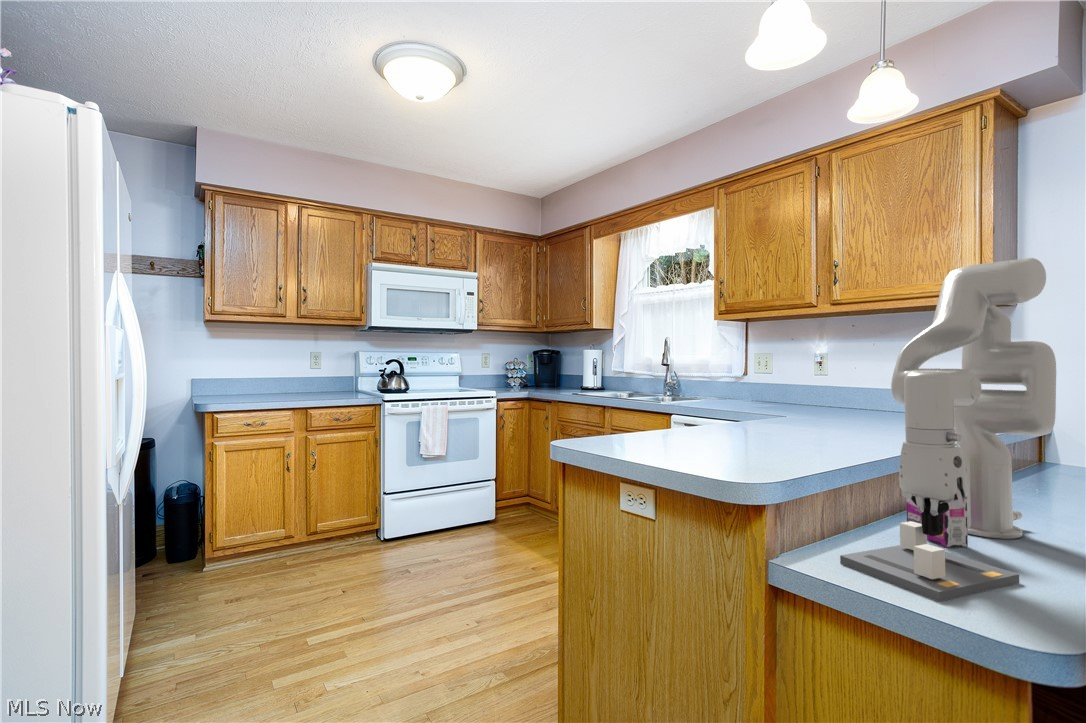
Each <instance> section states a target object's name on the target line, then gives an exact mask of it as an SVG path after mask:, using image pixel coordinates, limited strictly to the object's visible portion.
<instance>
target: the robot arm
mask: <svg viewBox="0 0 1086 723" xmlns="http://www.w3.org/2000/svg"><path fill="white" fill-rule="evenodd" d="M1046 271H1047V270H1046V269H1045V266H1044V264H1043V263H1042V262H1041V261H1040V260H1038V259H1037V258H1034V257H1027V258H1025V257H1024V258H1018V259H1010V260H1002V261H994V262H985V263H979V264H971V265H966V266H962V267H957V268H955V269H953V270H951V271H950V272H949V273H948V274H947V275H946V276H945V278H944V279H943V281H942V284H941V288H940V290H939V291H940V292H939V296H938V300H937V302H936V303H937V304H936V307H935V312H934V315H933V319H932V323H931V325H930V326H929V327H927V328H926V329H924V330H922V331H921V332H920V333H919V334H917V335H916V336H915V337H913V338H912V339H911V340H910V341H909V342H908V343H907V344H906V345H905V346H904V347H903V348H902V349H901V351H900V352H899V354H898V355H897V356H898V357H897V359H896V363H895V366H894V369H893V373H892V377H891V383H890V384H891V385H890V388H891V394H892V396H893V398H894V400H895V401H896V402H898V403H900V404H902V405H904V424H905V428H904V429H905V441H904V442H902V446H901V450H900V454H899V455H900V458H899V466H898V467H899V469H898V471H899V472H898V475H899V476H898V482H899V487H900V489H901V495H902V497H903V498H905V499H907V498H908V499H910V500H912V501H913V502H914V503H915V505H916V506H917V509H918V511H919V512H921V522H922V527H923V534H926V535H929V536H936V535H941V534H942V533H943V529H944V527H943V514H945V513H946V512H947V511H948V510H950V509H961V508H964V502H963V499H965V498H967V535H973V536H977V537H978V536H979V537H985V538H992V539H1001V540H1003V539H1004V540H1005V539H1007V540H1008V539H1009V540H1010V539H1013V540H1014V539H1019V538H1021V537H1023V529H1021V528H1019V527H1018V526H1015V525H1014V521H1017V520H1021V519H1022V518H1023V515H1022V512H1020V511H1019V510H1014V511H1013V506H1014V505H1013V468H1012V465H1013V461H1012V460H1013V459H1012V454H1011V451H1010V449H1009V447H1008V446H1007V445H1006V444H1005V443H1004V442H1003V441H1002V440H1001V438H1000V437H999V436H998V435H997V434H1001V435H1002V434H1006V435H1019V436H1022V435H1023V436H1044V435H1045V436H1046V435H1048V434H1050V433H1051V432H1052V430H1053V429H1054V426H1055V422H1056V413H1057V412H1056V410H1057V408H1056V407H1057V406H1056V405H1057V402H1056V401H1057V400H1056V399H1057V360H1056V356H1055V353H1054V351H1053V348H1052V347H1051V346H1050V345H1048V344H1047V343H1045V342H1042V341H1033V340H1031V341H1030V340H1029V341H1028V340H1025V341H1023V340H1021V341H1012V321H1011V319H1010V318H1009V317H1008V315H1007V314H1006V313H1005V312H1004V311H1002V310H1001V309H1000V308H999V307H998V306H1002V305H1003V306H1005V305H1015V304H1023V303H1027V302H1029V301H1030V300H1032V299H1035V298H1036V297H1038V296H1040V294H1042V292H1043V290H1044V289H1045V286H1046V281H1047V272H1046ZM959 348H962V350H961V353H962V354H961V368H920V367H921V366H922V365H924V363H926V362H927V361H929V360H931V359H933V358H934V357H937V356H939V355H942V354H944V353H948V352H950V351H953V350H954V351H955V350H956V349H959ZM982 385H997V386H998V385H1004V386H1005V385H1009V386H1010V385H1011V386H1012V385H1013V386H1014V385H1015V386H1024V387H1025V390H1019V389H1017V390H1013V389H1007V390H1006V389H985V388H983V389H982ZM965 467H966V468H965ZM949 501H951V502H949Z"/></svg>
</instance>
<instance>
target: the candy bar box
mask: <svg viewBox="0 0 1086 723" xmlns="http://www.w3.org/2000/svg"><path fill="white" fill-rule="evenodd" d="M965 468H966V467H965ZM949 502H951V501H949ZM963 502H964V508H961V509H950V510H948V511H947V512H946V513H945V514H943V527H944V529H943V533H942V534H941V535H936V536H929V535H927V541H929V542H931V543H933V544H937V545H940V546H942V547H945V548H968V545H969V544H968V543H969V540H968V537H969V536H968V533H967V498H965V499H963ZM910 521H912V522H916V523H920V524H922V522H921V512H919V511H918V509H917V506H916V505H915V503H914V502H913V501H912V500H910V499H908V498H906V522H910Z"/></svg>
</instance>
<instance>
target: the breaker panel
mask: <svg viewBox="0 0 1086 723" xmlns="http://www.w3.org/2000/svg"><path fill="white" fill-rule="evenodd" d="M839 557H840V558H839V560H840V564H841V565H844V566H846V567H849V568H851V569H854V570H856V571H859V572H861V573H865V574H867V575H869V576H872V577H875V578H877V579H879V580H882V581H885V582H888V583H890V584H893V585H896V586H897V587H900V588H903V589H904V590H905V589H906V590H908V591H910V592H914V593H916V594H918V595H921V596H923V597H925V598H929V599H931V600H934V601H936V602H945V601H947V600H953V599H958V598H961V597H966V596H970V595H973V594H979V593H982V592H988V591H991V590H996V589H999V588H1004V587H1008V586H1013V585H1017V584H1020V574H1019V573H1017V572H1012V571H1009V570H1007V569H1002V568H1000V567H996V566H993V565H990V564H986V563H984V562H981V561H976V560H973V559H970V558H967V557H963V556H960V555H956V554H953V553H949V552H946V551H945V577H941V578H936V579H930V578H927V577H924V576H921V575H919V574H916V573H914V550H911V549H907V548H904V547H901V546H900V544H899V545H893V546H887V547H881V548H875V549H869V550H863V551H858V552H852V553H845V554H841V555H840V556H839Z"/></svg>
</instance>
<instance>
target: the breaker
mask: <svg viewBox="0 0 1086 723" xmlns="http://www.w3.org/2000/svg"><path fill="white" fill-rule="evenodd" d="M945 552H946V550H945V548H942V547H937V546H935V545H932V544H928V543H927V544H924V545H918V546H914V573H916V574H919V575H921V576H924V577H927V578H930V579H936V578H941V577H945Z"/></svg>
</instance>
